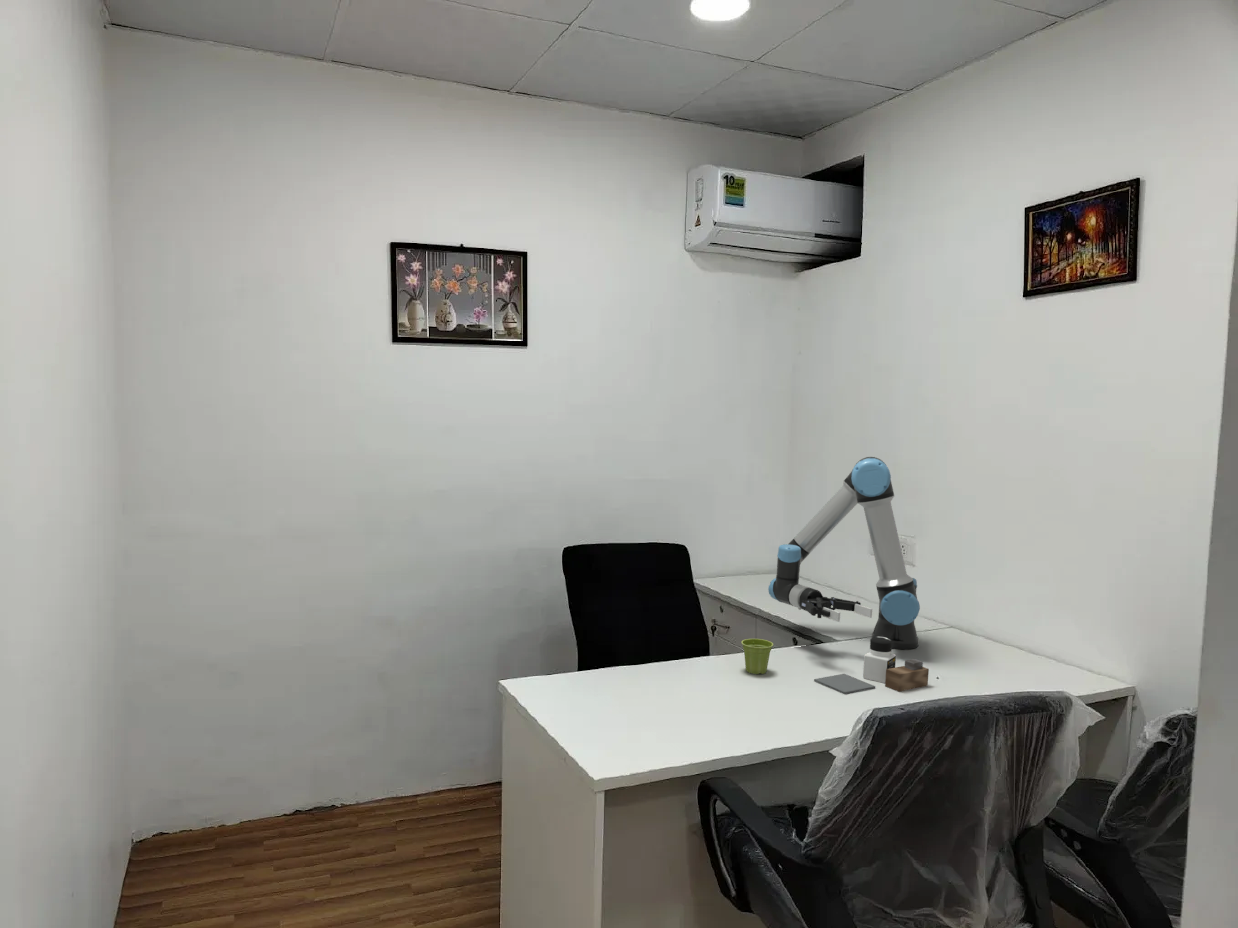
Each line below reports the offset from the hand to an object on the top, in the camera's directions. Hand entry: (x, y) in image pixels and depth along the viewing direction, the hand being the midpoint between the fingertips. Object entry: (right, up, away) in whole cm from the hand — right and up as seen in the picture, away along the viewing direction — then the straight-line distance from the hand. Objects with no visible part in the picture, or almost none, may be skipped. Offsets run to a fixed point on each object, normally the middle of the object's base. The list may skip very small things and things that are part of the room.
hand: (855, 615), depth 255 cm
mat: (-7, -17, -14) cm, 24 cm away
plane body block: (+11, -18, -13) cm, 25 cm away
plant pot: (-31, -16, -5) cm, 35 cm away
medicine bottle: (+5, -17, -7) cm, 20 cm away
